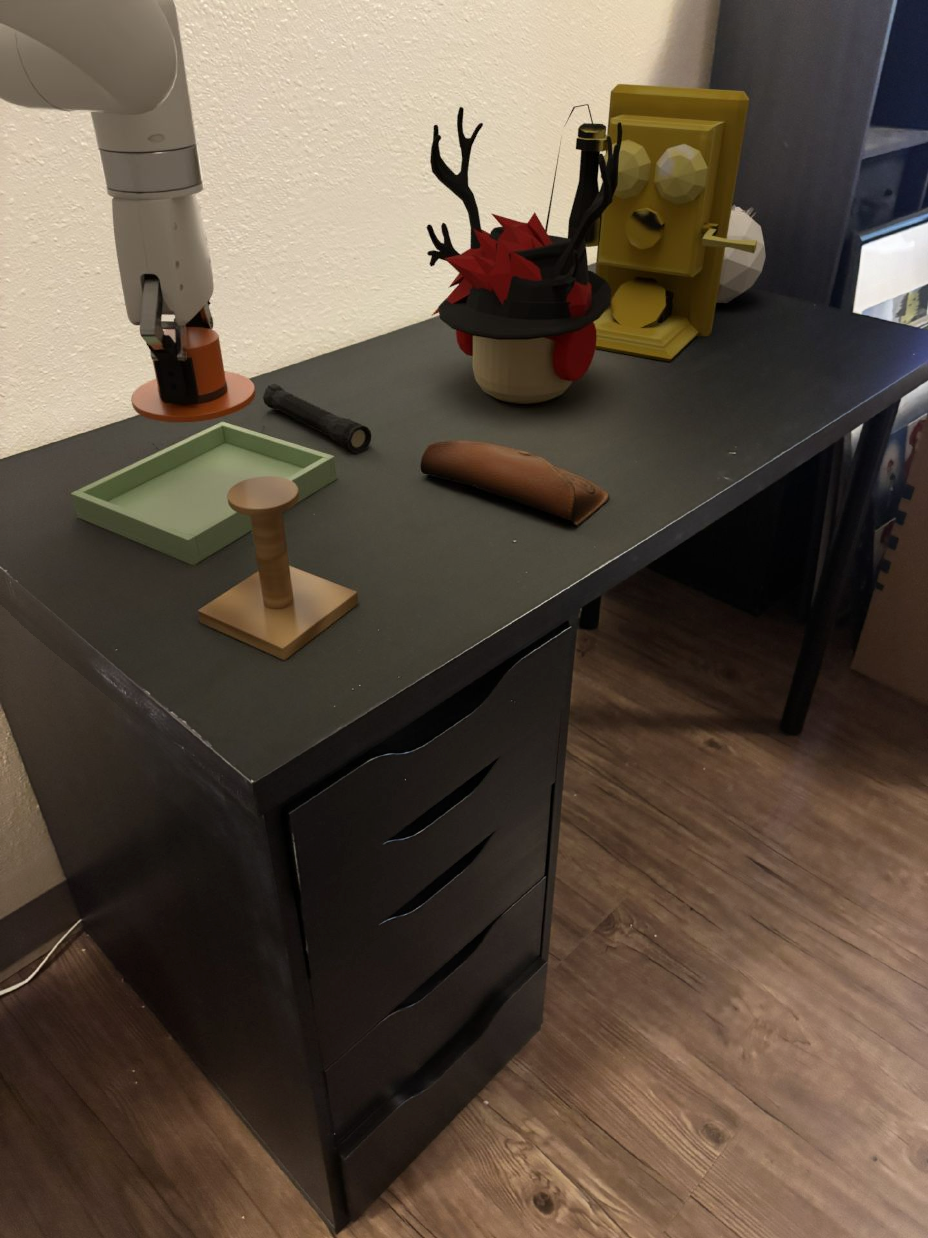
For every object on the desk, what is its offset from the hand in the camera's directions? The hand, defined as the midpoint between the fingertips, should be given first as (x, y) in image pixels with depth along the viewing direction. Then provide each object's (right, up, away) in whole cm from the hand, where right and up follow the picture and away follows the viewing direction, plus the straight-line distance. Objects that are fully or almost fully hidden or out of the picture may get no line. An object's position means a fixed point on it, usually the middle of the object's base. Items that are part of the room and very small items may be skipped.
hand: (192, 385), depth 83 cm
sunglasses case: (+30, -8, +8) cm, 32 cm away
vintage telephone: (+48, +18, +45) cm, 68 cm away
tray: (0, -9, +7) cm, 11 cm away
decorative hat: (+32, +6, +29) cm, 43 cm away
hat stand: (+10, -21, -9) cm, 25 cm away
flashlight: (+8, 0, +20) cm, 21 cm away
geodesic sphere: (+63, +28, +59) cm, 91 cm away
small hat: (0, -1, +1) cm, 1 cm away
